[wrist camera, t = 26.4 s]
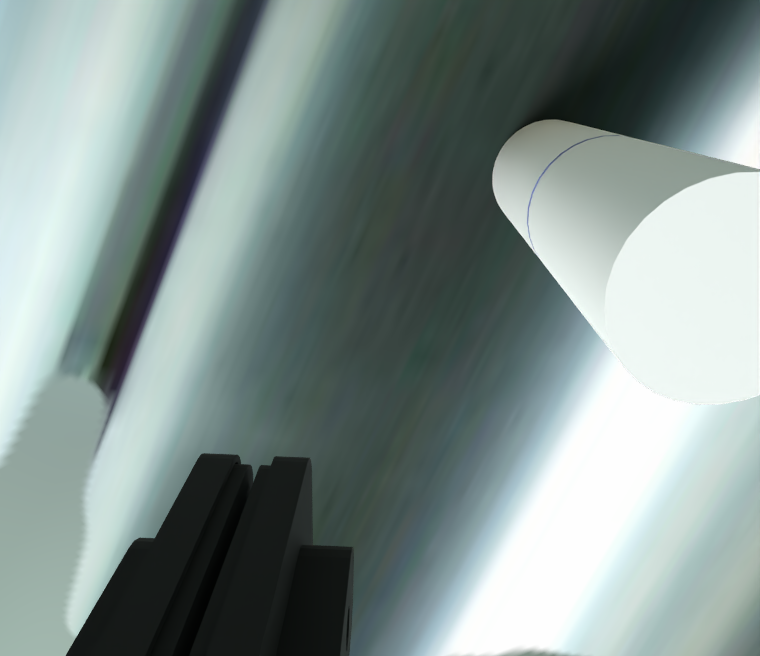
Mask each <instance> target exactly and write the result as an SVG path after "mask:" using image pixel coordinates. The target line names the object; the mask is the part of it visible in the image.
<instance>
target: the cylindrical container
mask: <svg viewBox="0 0 760 656" xmlns="http://www.w3.org/2000/svg"><path fill="white" fill-rule="evenodd" d="M492 184H493V190H494V195H495V198H496V200H497V203H498V205H499V206H500V208H501V209H502V211H503V212H504V214H505V215H506V216H507V217H508V219H509V220H510V221H511V223H512V224H513V225H514V227H515V228H516V229H517V230H518V232H519V233H520V234H521V236H522V237H523V238H524V239H525V241H526V242H527V243H528V245H529V246H530V247H531V248H532V250H533V251H534V252H535V254H536V255H537V256H538V257H539V259H540V260H541V261H542V262H543V264H544V265H545V266H546V268H547V269H548V270H549V272H550V273H551V274H552V275H553V277H554V278H555V279H556V281H557V282H558V283H559V284H560V286H561V287H562V288H563V290H564V291H565V292H566V294H567V295H568V296H569V297H570V299H571V300H572V301H573V303H574V304H575V305H576V306H577V308H578V309H579V310H580V312H581V313H582V314H583V316H584V317H585V318H586V319H587V321H588V322H589V323H590V325H591V326H592V327H593V328H594V330H595V331H596V332H597V334H598V335H599V336H600V338H601V339H602V340H603V341H604V343H605V344H606V345H607V347H608V348H609V349H610V350H611V352H612V353H613V354H614V356H615V357H616V358H617V360H618V361H619V362H620V363H621V365H622V366H623V367H624V368H625V369H626V370H627V371H628V372H629V373H630V374H631V375H632V377H633V378H634V379H635V380H636V381H638V382H639V383H641V384H642V385H644V386H645V387H647V388H648V389H650V390H651V391H653V392H654V393H657V394H659V395H662V396H664V397H667V398H669V399H672V400H674V401H679V402H685V403H691V404H697V405H715V404H727V403H732V402H738V401H743V400H747V399H749V398H752V397H755V396H758V395H760V169H756V168H752V167H748V166H744V165H740V164H736V163H732V162H728V161H724V160H720V159H716V158H712V157H708V156H704V155H700V154H696V153H692V152H688V151H684V150H680V149H676V148H672V147H668V146H664V145H660V144H656V143H652V142H648V141H644V140H640V139H635V138H632V137H628V136H624V135H620V134H616V133H612V132H608V131H604V130H600V129H596V128H592V127H588V126H584V125H580V124H576V123H572V122H567V121H562V120H557V119H555V120H542V121H538V122H534V123H532V124H529V125H527V126H525V127H523V128H522V129H520V130H519V131H517V132H516V133H515V134H514V135H513V136H511V137H510V138H509V139H508V140H507V142H506V143H505V144H504V146H503V147H502V149H501V150H500V152H499V154H498V157H497V159H496V161H495V165H494V169H493V181H492Z"/></svg>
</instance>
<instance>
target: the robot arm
mask: <svg viewBox="0 0 760 656" xmlns="http://www.w3.org/2000/svg"><path fill="white" fill-rule="evenodd" d="M353 567H354V553H353V547H339V546H317V545H313V526H312V466H311V459H310V458H303V457H278V456H276V457H274V459H273V461H272V464H271V466H268V465H261V466H260V467H259V469H258V472H257V475H256V477H255V480H254V483H253V471H252V466H251V465H244V464H241V461H240V457H239V456H238V455H229V454H205V453H204V454H201V455H200V457H199V458H198V460H197V462H196V463H195V465H194V467H193V469H192V471H191V473H190V474H189V476H188V478H187V480H186V482H185V484H184V486H183V487H182V489H181V491H180V493H179V495H178V497H177V498H176V500H175V502H174V504H173V506H172V508H171V509H170V511H169V513H168V515H167V517H166V519H165V521H164V522H163V524H162V526H161V528H160V530H159V532H158V533H157V535H156V537H155V538H138V539H137V540H135V541H134V542H133V543H132V545H131V546H130V547H129V549H128V550H127V552H126V554H125V555H124V557H123V559H122V561H121V562H120V564H119V566H118V567H117V569H116V571H115V572H114V574H113V576H112V578H111V579H110V581H109V583H108V584H107V586H106V588H105V590H104V591H103V593H102V595H101V596H100V598H99V600H98V601H97V603H96V605H95V607H94V608H93V610H92V612H91V613H90V615H89V617H88V618H87V620H86V622H85V624H84V625H83V627H82V629H81V630H80V632H79V634H78V636H77V637H76V639H75V641H74V642H73V644H72V646H71V648H70V649H69V651H68V653H67V654H66V656H349V652H350V640H351V626H352V608H353Z"/></svg>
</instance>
